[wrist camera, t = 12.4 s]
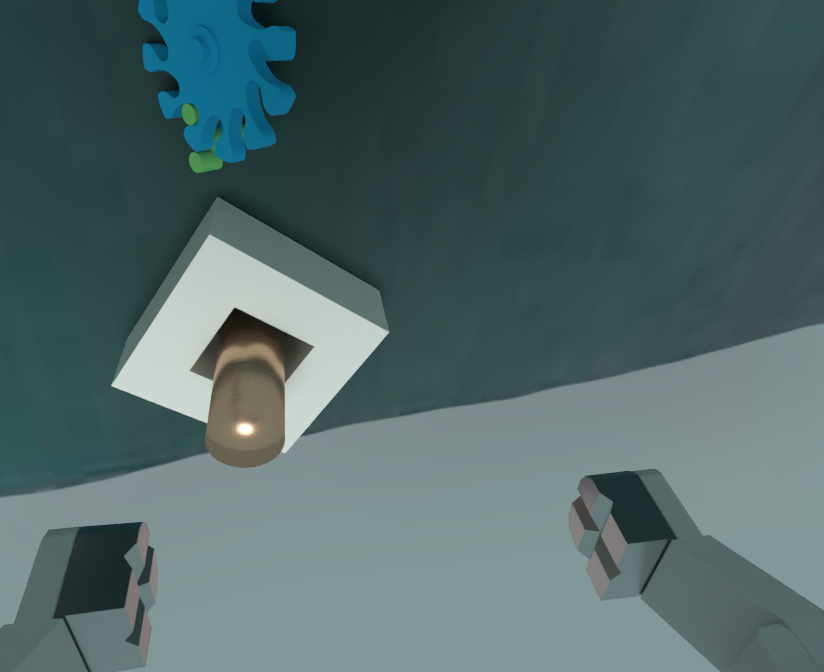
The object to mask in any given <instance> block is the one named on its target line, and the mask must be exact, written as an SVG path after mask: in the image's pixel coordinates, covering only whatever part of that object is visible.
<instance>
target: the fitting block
mask: <svg viewBox="0 0 824 672" xmlns="http://www.w3.org/2000/svg"><path fill="white" fill-rule="evenodd" d="M234 307H235V308H237V309H239V310H241V311H243V312H246V313H248V314H250V315H252V316H254V317H256V318H258V319H260V320H262V321H264V322H266V323H268V324H270V325H272V326H274V327H276V328H278V329H280V330H282V331H284V332H286V333H288V334H287V335H286V337H285V338H284V344H285V444H284V447H283V449H282V451H281V452H283V453H286V452H287V451H288V449H289V448H290V447H291V446H292V445H293V444H294V442H295V441H296V440H297V439H298V438H299V437H300V436H301V434H302V433H303V432H304V431H305V430H306V429H307V427H308V426H309V425H310V424H311V423H312V422H313V420H314V419H315V418H316V417H317V416H318V415H319V413H320V412H321V411H322V410H323V409H324V408H325V406H326V405H327V404H328V403H329V402H330V401H331V399H332V398H333V397H334V396H335V395H336V394H337V392H338V391H339V390H340V389H341V388H342V387H343V385H344V384H345V383H346V382H347V381H348V380H349V378H350V377H351V376H352V375H353V374H354V373H355V371H356V370H357V369H358V368H359V367H360V366H361V364H362V363H363V362H364V361H365V360H366V359H367V358H368V356H369V355H370V354H371V353H372V352H373V351H374V349H375V348H376V347H377V346H378V345H379V344H380V342H381V341H382V340H383V339H384V338H385V337H386V335H387V334H388V333H389V329H388V325H387V321H386V317H385V313H384V309H383V305H382V300H381V296H380V292H379V290H378V289H376V288H374V287H372V286H371V285H369V284H367V283H366V282H364V281H362V280H360V279H359V278H357V277H355V276H354V275H352V274H350V273H348V272H347V271H345V270H343V269H341V268H340V267H338V266H336V265H335V264H333V263H331V262H329V261H328V260H326V259H324V258H322V257H321V256H319V255H317V254H316V253H314V252H312V251H310V250H309V249H307V248H305V247H303V246H302V245H300V244H298V243H297V242H295V241H293V240H291V239H290V238H288V237H286V236H285V235H283V234H281V233H279V232H278V231H276V230H274V229H272V228H271V227H269V226H267V225H266V224H264V223H262V222H260V221H259V220H257V219H255V218H253V217H252V216H250V215H248V214H247V213H245V212H243V211H241V210H240V209H238V208H236V207H235V206H233V205H231V204H229V203H228V202H226V201H224V200H222V199H221V198H219V197H217V198H216V200H215V201H214V203H213V204H212V206H211V207H210V209H209V211H208V212H207V214H206V215H205V217H204V218H203V220H202V222H201V223H200V225H199V226H198V228H197V229H196V231H195V233H194V234H193V236H192V237H191V239H190V240H189V242H188V244H187V245H186V247H185V248H184V250H183V251H182V253H181V255H180V256H179V258H178V259H177V261H176V262H175V264H174V266H173V267H172V269H171V270H170V272H169V273H168V275H167V277H166V278H165V280H164V281H163V283H162V284H161V286H160V288H159V289H158V291H157V292H156V294H155V296H154V297H153V299H152V300H151V302H150V303H149V305H148V307H147V308H146V310H145V311H144V313H143V314H142V316H141V318H140V319H139V321H138V322H137V324H136V325H135V327H134V329H133V330H132V332H131V333H130V335H129V336H128V338H127V341H126V344H125V347H124V350H123V353H122V356H121V359H120V362H119V365H118V367H117V370H116V373H115V376H114V379H113V382H112V385H111V386H113V387H115V388H118V389H120V390H123V391H126V392H128V393H131V394H133V395H136V396H138V397H141V398H144V399H146V400H149V401H151V402H154V403H156V404H159V405H162V406H164V407H167V408H169V409H172V410H174V411H177V412H180V413H182V414H185V415H187V416H190V417H192V418H195V419H198V420H200V421H203V422H205V423H207V422H208V415H209V408H210V401H211V394H212V387H213V379H214V372H215V365H216V358H217V351H218V343H219V336H220V334H218V333H217V331H218V330H219V328H220V327H221V326H222V324H223V323H224V321H225V320H226V318H227V317H228V316H229V314H230V313H231V311H232V310H233V309H234Z"/></svg>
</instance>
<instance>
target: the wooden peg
mask: <svg viewBox="0 0 824 672" xmlns="http://www.w3.org/2000/svg"><path fill="white" fill-rule="evenodd" d="M205 443H206V447H207V449H208V451H209V453H210V454H211V455H212V456H213V457H214V458H216V459H217V460H218V461H220V462H222V463H224V464H227V465H230V466H234V467H241V468H248V467H256V466H260V465H262V464H265V463H267V462H269V461H271V460H273V459H274V458H275V457H277V455H279V454H280V452H281V451H282V449H283V447H284V444H285V344H284V331H282V330H280V329H278V328H276V327H274V326H272V325H270V324H268V323H266V322H264V321H262V320H260V319H258V318H256V317H254V316H252V315H250V314H248V313H246V312H243V311H241V310H239V309H237V308H235V307H234V309H233V310H232V311H231V313H230V314H229V316H228V317H227V318H226V320H225V321H224V323H223V324H222V326H221V329H220V336H219V343H218V351H217V358H216V365H215V372H214V379H213V387H212V394H211V401H210V408H209V415H208V422H207V430H206V437H205Z"/></svg>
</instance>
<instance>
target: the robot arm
mask: <svg viewBox="0 0 824 672" xmlns="http://www.w3.org/2000/svg"><path fill="white" fill-rule="evenodd" d="M577 489H578V491H579V493H580V495H581V496H580V497H578V498H577V499H576V500H575V501H574V502H573V503H572V505H571V508H570V512H569V529H570V533H571V536H572V539H573V542H574V544H575V546H576V548H577V550H578V551H579V552H581V553H582V554H583V555H585V556H586V557H587V558H589V560H588V565H587V569H586V570H587V572H588V574H589V576H590V579H591V581H592V583H593V585H594V587H595V589H596V591H597V594H598V596H599V598H600V600H608V599H617V598H626V597H635V596H641V599H642V600H643V601H644V602H645V603H646V604H647V605H648V606H649V607H651V608H652V609H653V610H654V611H655V612H656V613H657V614H658V615H659V616H660V617H661V618H663V619H664V620H665V621H666V622H667V623H668V624H669V625H670V626H671V627H672V628H674V630H676V631H677V632H678V633H679V634H680V635H681V636H682V637H683V638H684V639H686V641H688V642H689V643H690V644H691V645H692V646H693V647H694V648H695V649H696V650H697V651H698V652H700V653H701V654H702V655H703V656H704V657H705V658H706V659H707V660H708V661H709V662H710V663H712V664H713V665H714V666H715V667H716V668H717V669H718V670H719V671H720V672H824V610H822V609H821V608H819V607H817V606H816V605H815V604H813V603H812V602H810V601H809V600H807V599H806V598H804V597H802V596H801V595H800V594H798V593H796V592H795V591H793V590H792V589H790V588H789V587H787V586H786V585H784V584H783V583H781V582H780V581H778V580H777V579H775V578H774V577H772V576H771V575H769V574H768V573H766V572H765V571H763V570H762V569H760V568H759V567H757V566H756V565H754V564H752V563H751V562H749V561H748V560H746V559H745V558H743V557H742V556H740V555H739V554H737V553H736V552H734V551H733V550H731V549H730V548H728V547H727V546H725V545H724V544H722V543H721V542H719V541H717V540H716V539H714V538H713V537H712V536H710V535H708V536H703V535H702V534H701V532H700V531H699V529H698V528H697V526H696V525H695V523H694V522H693V520H692V519H691V517H690V516H689V514H688V513H687V511H686V510H685V508H684V507H683V505H682V504H681V502H680V501H679V499H678V498H677V496H676V495H675V493H674V492H673V490H672V489H671V487H670V486H669V484H668V483H667V481H666V480H665V478H664V477H663V475H662V474H661V473H660V472H659V471H658V470H656V469H648V470H638V471H631V472H630V471H623V472H615V473H606V474H598V475H589V476H585V477H583V478H582V479H581V480H580V483H579V485H578V488H577ZM149 535H150V532H149V529H148V527H147V523H146V522H135V523H123V524H110V525H97V526H85V527H73V528H62V529H52V530H48V531H47V533H46V534H45V536H44V537H43V539H42V541H41V543H40V547H39V549H38V553H37V555H36V558H35V561H34V565H33V568H32V571H31V574H30V577H29V579H28V583H27V586H26V589H25V592H24V595H23V598H22V601H21V604H20V607H19V610H18V613H17V616H16V619H15V622H14V624H9V625H3V626H2V628H1V629H0V672H117V671H123V670H129V669H135V668H141V667H146V661H147V655H148V648H149V641H150V635H151V625H150V621H149V618H148V615H147V612H148V611H149V610H150V609H151V607H152V606H153V605H154V604H155V601H156V593H157V578H158V567H157V558H156V554H155V551H154V549H153V548H151V547H150V546H148V542H149Z"/></svg>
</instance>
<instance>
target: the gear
mask: <svg viewBox="0 0 824 672" xmlns="http://www.w3.org/2000/svg"><path fill="white" fill-rule="evenodd" d="M252 1H255V2H261V3H275V2H277V1H278V0H139V5H138V12H139V14H140V16H141V17H142V18H143V19H144V20H146V21H148V22H150V23H152V24H153V25H154V26H155V27H156V28H157V29H158V31H159V32H160V34H161V35H162V37H163V39H164V41H165V43H166V45H167V47H168V49H167V47H166V46H165V45H164V44H162V43H144V44H143V62H144V68H145V69H146V70H147V71H149V72H158V71H167V72H168V73H170V74H171V75H172V76H173V77H175V78H176V80H177V82H178V84H179V89H180V91H177V90H176V91H162V92H160V93H159V94H158V100H159V104H160V107H161V109H162V112H163V114H164V116H165V118H167V119H170V118H179V117H183V119H184V121H185V122H186V124H188V125H189V126H187V127H186V128H185V130H184V137H185V139H186V141H187V142H188V144H189V145H190V146H191V147H192V149H193V150H194V151H195V152H192V153H191V154H190V156H189V163H190V166H191V168H192V170H193V171H194V172H196V173H201V172H206V171H211V170H216V169H220V168H221V167H222V165H223V161H226V162H230V163H233V162H238V161H244V159H245V156H246V150H245V146H244V143H245V145H246V147H247V149H248V150H254V149H260V148H265V147H269V146H271V145H273V144H274V143H276V136H275V133H274V130H273V128H272V127H271V126H270V125H269V123H268V121H267V120H266V118H265V115H264V113H263V110H262V107H261V102H260V96H259V87H260V90H261V95H262V102H263V106H264V108H265V110H266V111H267V113H269V114H270V115H272V116H275V115H283V114H286V113H287V112H288V111H289V110H290V109H291V107H292V105H293V103H294V100H295V98H296V95H295V92H294V90H293V89H292V88H291V86H289V85H288V84H285V83H283V82H281V81H280V80H278V79H277V78H276V77H275V76H274V75H273V73H272V72H271V71H270V69H269V67H268V66H267V64H266V62H265V61H289V60H292V59H294V56H295V50H296V31H295V30H294V29H293V28H291V27H289V26H271V27H269V28H265V27H264V26H262V25H260V24H259V23H258V22H256V21H255V20H254V18H253V16H252V13H251V4H252ZM243 114H244V116H245V121H246V123H245V124H243V125H242V119H243ZM243 139H244V143H243Z"/></svg>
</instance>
